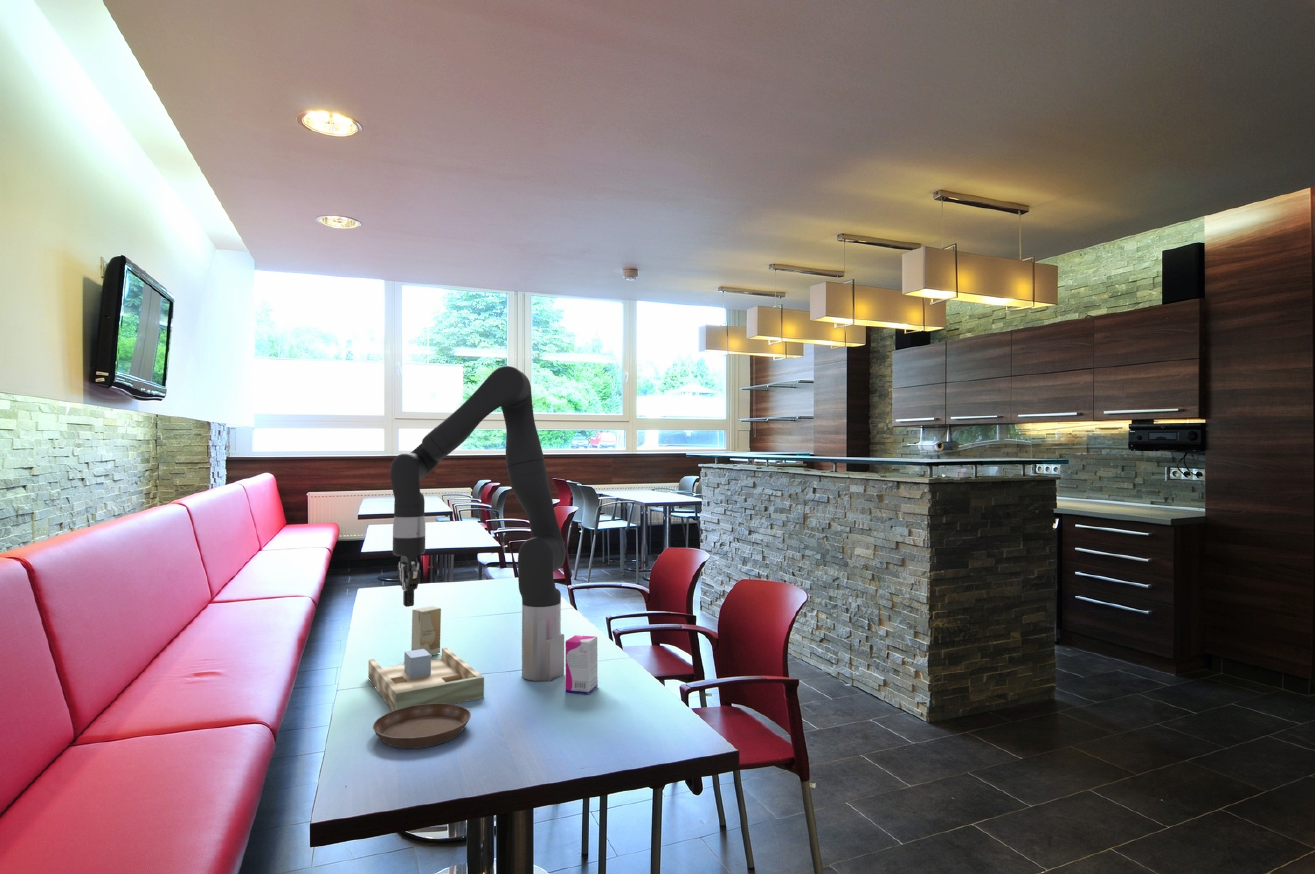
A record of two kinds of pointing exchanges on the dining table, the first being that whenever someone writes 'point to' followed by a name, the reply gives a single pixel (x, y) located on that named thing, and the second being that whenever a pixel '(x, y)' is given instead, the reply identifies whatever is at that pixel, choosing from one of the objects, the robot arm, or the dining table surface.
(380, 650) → the dining table surface
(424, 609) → the skincare box
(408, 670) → the block
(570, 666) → the supplement box
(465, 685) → the channel
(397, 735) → the plant saucer
